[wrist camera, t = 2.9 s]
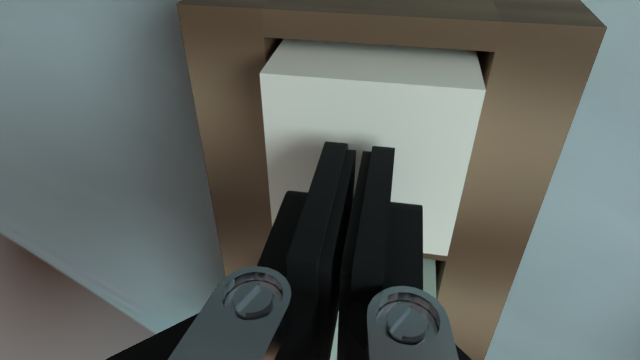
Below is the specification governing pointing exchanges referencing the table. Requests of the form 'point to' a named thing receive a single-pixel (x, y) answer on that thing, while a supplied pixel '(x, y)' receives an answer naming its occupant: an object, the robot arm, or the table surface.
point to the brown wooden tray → (489, 144)
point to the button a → (375, 119)
